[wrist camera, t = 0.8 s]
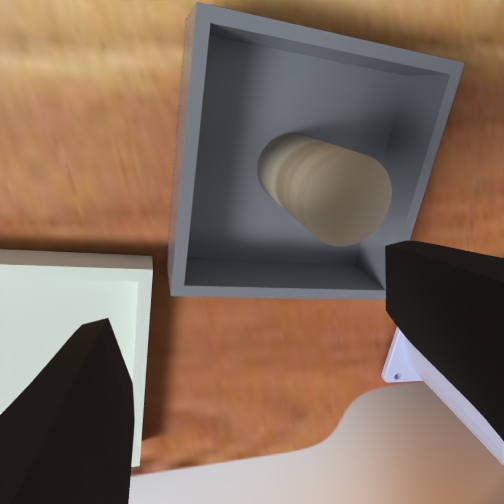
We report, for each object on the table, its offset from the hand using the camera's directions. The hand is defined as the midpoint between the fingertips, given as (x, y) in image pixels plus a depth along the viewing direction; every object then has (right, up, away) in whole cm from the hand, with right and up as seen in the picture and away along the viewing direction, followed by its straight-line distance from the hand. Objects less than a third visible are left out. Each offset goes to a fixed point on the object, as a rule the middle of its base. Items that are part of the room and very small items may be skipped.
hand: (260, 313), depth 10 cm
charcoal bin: (+1, +6, +9) cm, 11 cm away
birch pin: (+2, +5, +9) cm, 10 cm away
